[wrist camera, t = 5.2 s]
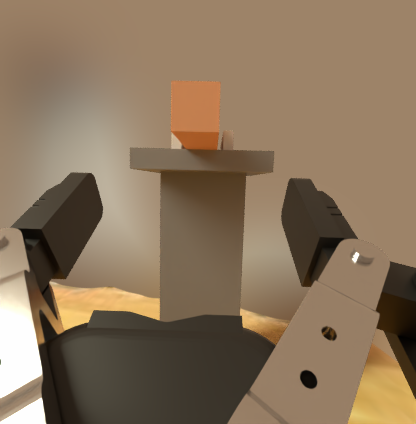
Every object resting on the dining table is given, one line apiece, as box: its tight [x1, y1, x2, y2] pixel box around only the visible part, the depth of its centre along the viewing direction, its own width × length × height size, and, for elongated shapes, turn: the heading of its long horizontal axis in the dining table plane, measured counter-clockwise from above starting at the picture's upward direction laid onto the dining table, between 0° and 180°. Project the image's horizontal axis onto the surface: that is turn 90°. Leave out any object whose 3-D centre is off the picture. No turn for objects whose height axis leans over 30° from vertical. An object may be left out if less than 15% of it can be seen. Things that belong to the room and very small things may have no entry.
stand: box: [130, 131, 274, 322], centre depth 35 cm, size 18×17×34 cm
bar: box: [171, 81, 220, 150], centre depth 27 cm, size 22×3×3 cm, turn 179°
